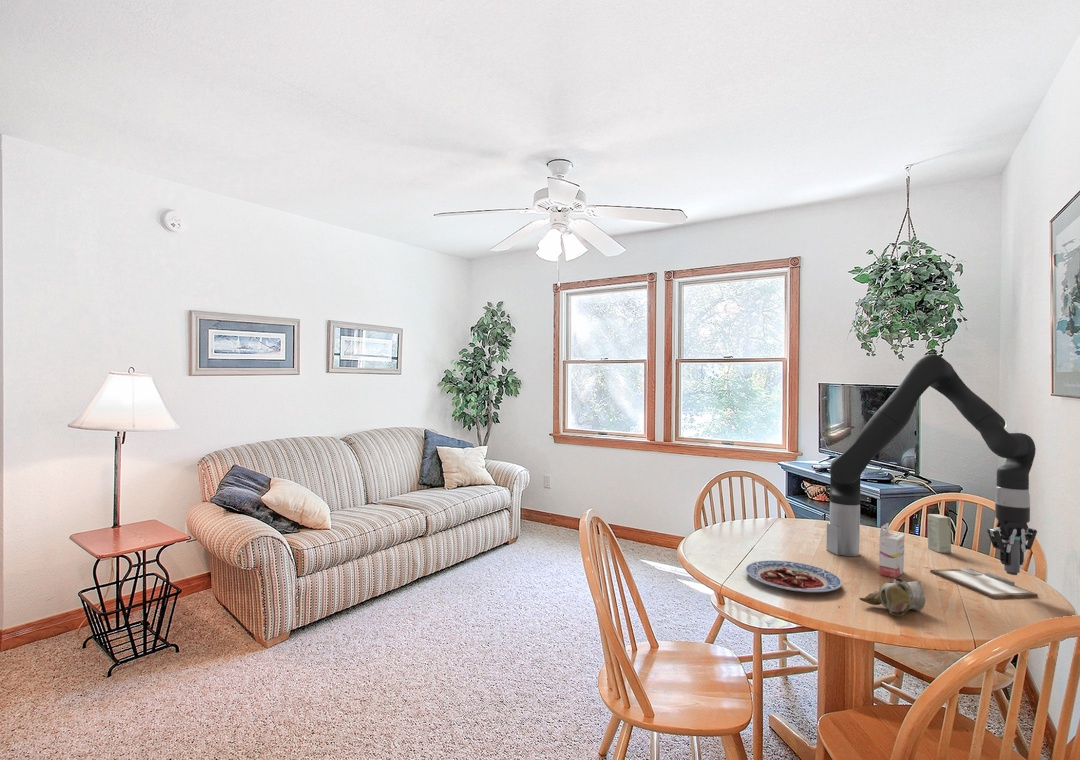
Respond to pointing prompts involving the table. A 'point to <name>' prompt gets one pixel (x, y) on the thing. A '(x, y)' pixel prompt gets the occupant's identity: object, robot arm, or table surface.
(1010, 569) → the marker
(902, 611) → the ceramic sculpture
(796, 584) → the ceramic plate
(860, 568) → the table surface
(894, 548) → the ink cartridge box
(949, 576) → the clipboard
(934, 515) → the skincare box
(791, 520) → the table surface
